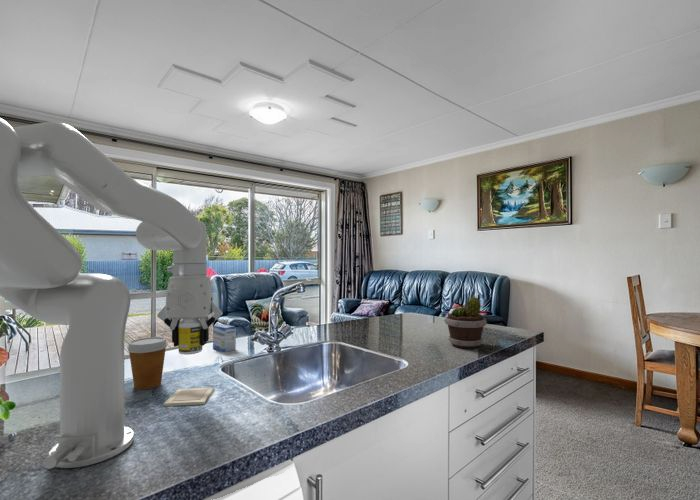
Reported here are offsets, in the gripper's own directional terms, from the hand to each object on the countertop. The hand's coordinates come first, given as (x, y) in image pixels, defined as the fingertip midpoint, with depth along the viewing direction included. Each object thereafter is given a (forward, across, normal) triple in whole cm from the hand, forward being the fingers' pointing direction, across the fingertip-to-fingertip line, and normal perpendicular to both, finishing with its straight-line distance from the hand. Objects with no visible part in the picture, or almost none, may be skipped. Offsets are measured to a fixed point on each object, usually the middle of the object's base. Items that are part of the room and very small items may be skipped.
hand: (190, 343), depth 89 cm
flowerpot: (+14, +87, +37) cm, 96 cm away
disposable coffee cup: (+13, -14, +10) cm, 22 cm away
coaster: (+13, 0, 0) cm, 13 cm away
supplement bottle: (+2, 0, 0) cm, 2 cm away
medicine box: (+14, -2, +45) cm, 47 cm away
